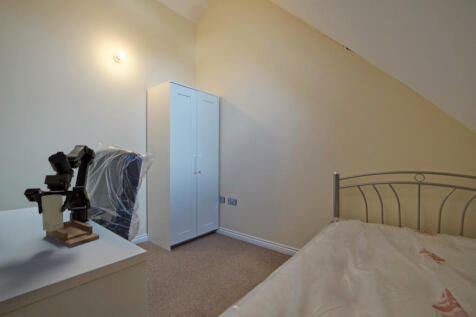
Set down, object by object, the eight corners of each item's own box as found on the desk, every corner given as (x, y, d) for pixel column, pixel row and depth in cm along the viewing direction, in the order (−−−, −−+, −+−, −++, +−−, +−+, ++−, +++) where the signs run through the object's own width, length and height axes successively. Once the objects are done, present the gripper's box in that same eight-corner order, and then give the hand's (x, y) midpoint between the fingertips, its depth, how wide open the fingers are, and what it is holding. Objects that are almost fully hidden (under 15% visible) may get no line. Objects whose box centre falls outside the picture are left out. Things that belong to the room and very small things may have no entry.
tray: (73, 228, 98) (73, 219, 98) (99, 237, 88) (99, 228, 88) (46, 235, 89) (46, 226, 89) (70, 247, 79) (70, 236, 79)
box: (64, 228, 82) (63, 194, 81) (50, 232, 77) (50, 197, 77) (54, 226, 83) (54, 193, 83) (41, 230, 79) (40, 196, 79)
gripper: (26, 167, 80) (7, 203, 70) (85, 166, 87) (75, 199, 77) (37, 184, 88) (21, 219, 78) (90, 183, 94) (82, 214, 84)
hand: (50, 212), depth 79 cm, fingers closed on box, 6 cm apart
